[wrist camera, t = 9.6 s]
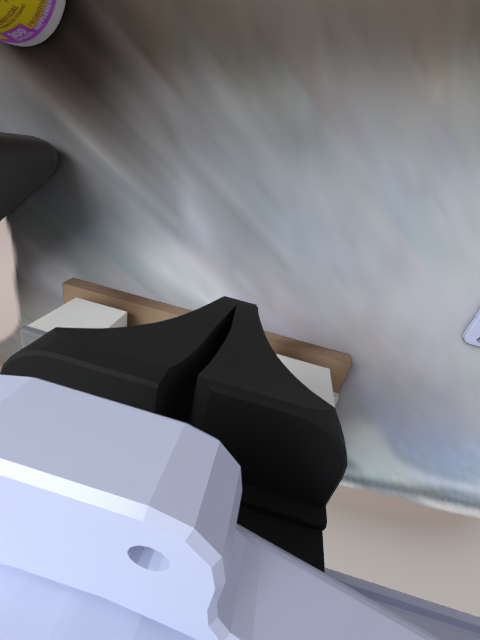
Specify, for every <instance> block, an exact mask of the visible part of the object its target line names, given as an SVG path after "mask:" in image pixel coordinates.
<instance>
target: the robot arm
mask: <svg viewBox="0 0 480 640" xmlns="http://www.w3.org/2000/svg"><path fill="white" fill-rule="evenodd" d="M462 337H463V339H464V341H465V342H466V343H468V344H472V345H475V346H479V347H480V340H477V339H478V338H479V337H480V309H479V311H478V312H477V314H476V315H475V317H474V318H473V320H472V321H471V323H470V324H469V326H468V327H467V329H466V330H465V332H464V333H463V336H462ZM346 467H347V453H346V447H345V441H344V436H343V432H342V429H341V425H340V422H339V419H338V416H337V412H336V409H335V407H333V406H332V405H330V404H329V403H328V402H326V401H325V400H324V399H322V398H321V397H319V396H318V395H317V394H315V393H314V392H312V391H311V390H310V389H309V388H307V387H306V386H305V385H304V384H303V383H302V382H301V381H299V380H298V379H297V378H296V377H295V376H294V375H293V374H292V373H291V372H290V371H289V369H288V368H287V367H286V366H285V365H284V364H283V363H282V361H281V360H280V359H279V358H278V356H277V355H276V353H275V352H274V350H273V349H272V347H271V345H270V343H269V341H268V339H267V337H266V335H265V333H264V330H263V328H262V325H261V322H260V318H259V314H258V307H257V306H256V305H255V304H251V303H248V302H244V301H240V300H237V299H233V298H229V297H226V296H224V297H222V298H220V299H218V300H216V301H214V302H212V303H210V304H208V305H206V306H203V307H201V308H199V309H197V310H194V311H191V312H189V313H186V314H184V315H181V316H178V317H175V318H171V319H168V320H164V321H160V322H155V323H149V324H142V325H136V326H128V327H117V328H63V327H55V328H54V329H52V330H50V331H49V332H47V333H46V334H44V335H43V336H41V337H40V338H38V339H37V340H35V341H34V342H32V343H31V344H29V345H27V346H26V347H24V348H23V349H21V350H20V351H18V352H17V353H15V354H14V355H12V356H11V357H10V358H9V359H8V360H7V361H6V362H5V363H4V364H3V367H2V370H1V373H0V640H480V617H477V616H473V615H470V614H467V613H464V612H461V611H458V610H455V609H452V608H449V607H446V606H442V605H439V604H436V603H433V602H430V601H427V600H424V599H421V598H418V597H415V596H411V595H408V594H405V593H402V592H399V591H396V590H393V589H390V588H386V587H384V586H380V585H377V584H374V583H371V582H368V581H364V580H362V579H358V578H355V577H352V576H349V575H346V574H343V573H340V572H337V571H334V570H330V569H328V568H325V567H324V552H323V536H322V530H324V529H325V528H326V524H327V518H326V504H327V502H328V501H329V499H330V498H331V496H332V494H333V493H334V491H335V490H336V488H337V486H338V485H339V483H340V481H341V480H342V478H343V476H344V473H345V470H346Z"/></svg>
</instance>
